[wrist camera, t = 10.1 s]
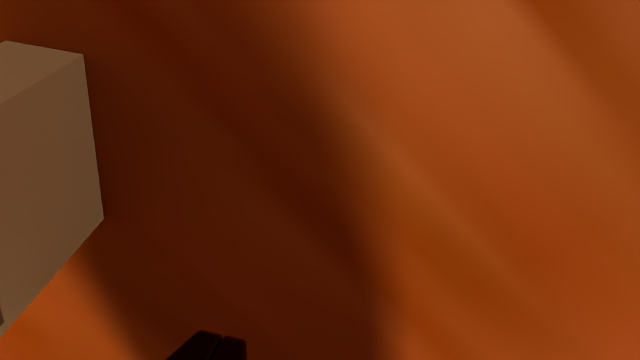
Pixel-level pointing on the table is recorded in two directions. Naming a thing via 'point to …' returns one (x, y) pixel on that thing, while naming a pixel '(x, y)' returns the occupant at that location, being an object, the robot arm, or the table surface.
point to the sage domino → (43, 170)
